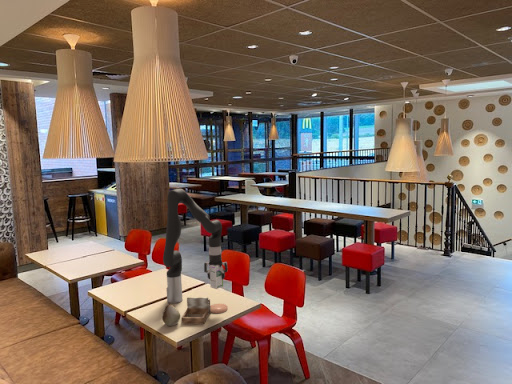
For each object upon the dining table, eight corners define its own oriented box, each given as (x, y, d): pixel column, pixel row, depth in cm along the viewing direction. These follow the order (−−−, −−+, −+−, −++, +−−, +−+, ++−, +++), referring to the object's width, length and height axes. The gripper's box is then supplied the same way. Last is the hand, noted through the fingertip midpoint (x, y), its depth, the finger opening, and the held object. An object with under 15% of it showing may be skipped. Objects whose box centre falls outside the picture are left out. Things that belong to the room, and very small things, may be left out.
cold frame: (181, 323, 219) (180, 307, 218) (188, 312, 233) (187, 297, 232) (206, 323, 218) (205, 307, 217) (211, 313, 232) (210, 297, 230)
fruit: (174, 318, 226) (172, 299, 224) (184, 322, 220) (183, 303, 218) (159, 325, 218) (158, 305, 217) (170, 329, 212) (168, 309, 211)
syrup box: (216, 289, 231) (215, 266, 229) (210, 287, 235) (208, 264, 233) (223, 286, 235) (222, 264, 233) (216, 284, 239) (215, 262, 237)
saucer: (206, 313, 231) (206, 311, 231) (210, 305, 243) (210, 303, 243) (225, 313, 230) (225, 311, 230) (229, 305, 242) (229, 303, 242)
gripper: (202, 254, 229) (203, 280, 231) (225, 254, 228) (226, 280, 230) (205, 251, 237) (206, 276, 239) (227, 251, 235) (228, 276, 237)
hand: (216, 278), depth 234 cm, fingers closed on syrup box, 8 cm apart
